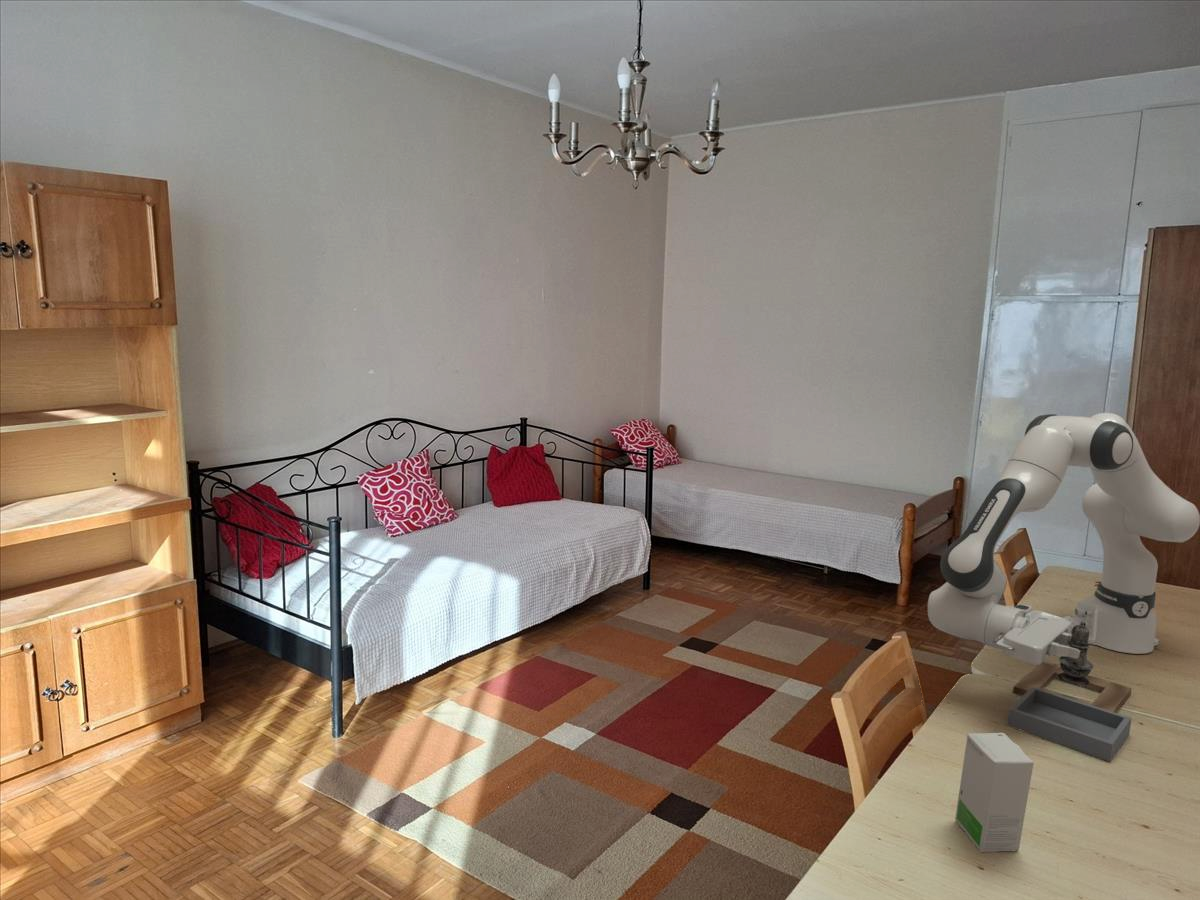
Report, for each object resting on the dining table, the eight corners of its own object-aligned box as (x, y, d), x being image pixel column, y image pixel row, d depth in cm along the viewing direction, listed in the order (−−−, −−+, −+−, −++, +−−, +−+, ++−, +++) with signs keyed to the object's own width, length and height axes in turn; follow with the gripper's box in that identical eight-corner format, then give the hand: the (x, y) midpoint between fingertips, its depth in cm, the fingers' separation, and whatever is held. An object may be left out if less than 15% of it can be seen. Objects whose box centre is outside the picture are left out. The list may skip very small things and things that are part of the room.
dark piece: (1095, 688, 157) (1104, 629, 155) (1061, 684, 159) (1070, 625, 156) (1084, 674, 163) (1093, 617, 161) (1052, 670, 164) (1060, 613, 162)
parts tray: (1006, 725, 164) (1008, 708, 163) (1030, 701, 174) (1032, 686, 173) (1109, 762, 152) (1112, 744, 151) (1129, 734, 161) (1131, 717, 161)
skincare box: (954, 820, 134) (964, 731, 131) (993, 818, 134) (1003, 730, 131) (981, 855, 125) (993, 761, 123) (1023, 853, 126) (1035, 760, 123)
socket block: (1012, 692, 178) (1013, 686, 177) (1040, 667, 190) (1041, 661, 190) (1108, 724, 165) (1109, 717, 165) (1130, 694, 178) (1131, 688, 178)
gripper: (990, 628, 161) (1069, 650, 151) (1026, 602, 175) (1100, 621, 165) (986, 658, 162) (1064, 682, 152) (1022, 630, 176) (1095, 650, 167)
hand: (1083, 650), depth 159 cm, fingers closed on dark piece, 3 cm apart
